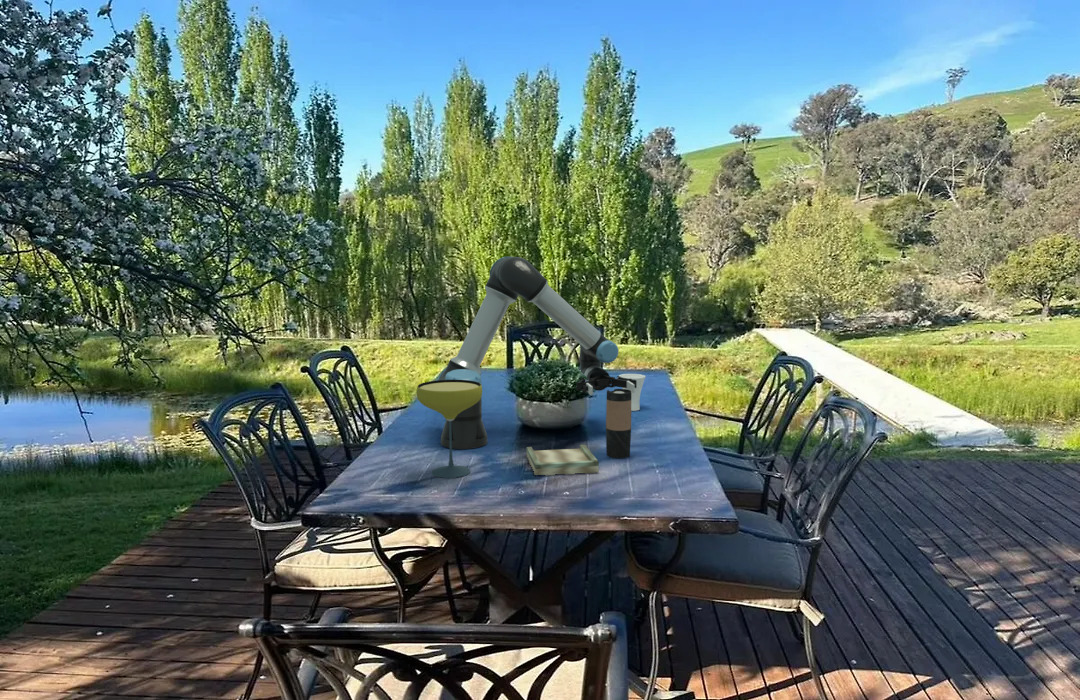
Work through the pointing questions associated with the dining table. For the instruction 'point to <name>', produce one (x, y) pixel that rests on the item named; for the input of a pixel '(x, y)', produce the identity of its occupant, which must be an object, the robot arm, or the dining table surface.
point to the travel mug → (618, 423)
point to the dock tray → (562, 461)
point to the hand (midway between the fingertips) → (612, 389)
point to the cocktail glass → (449, 410)
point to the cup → (635, 396)
